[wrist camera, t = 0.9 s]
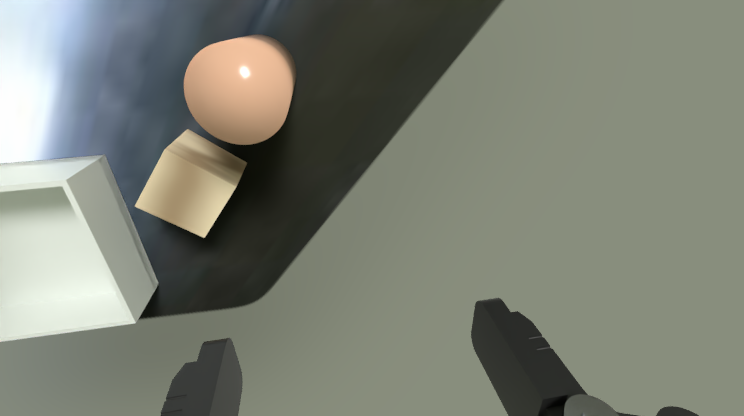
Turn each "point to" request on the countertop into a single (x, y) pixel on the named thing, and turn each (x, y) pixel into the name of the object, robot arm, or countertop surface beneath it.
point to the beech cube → (191, 183)
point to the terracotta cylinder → (241, 88)
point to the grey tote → (68, 250)
